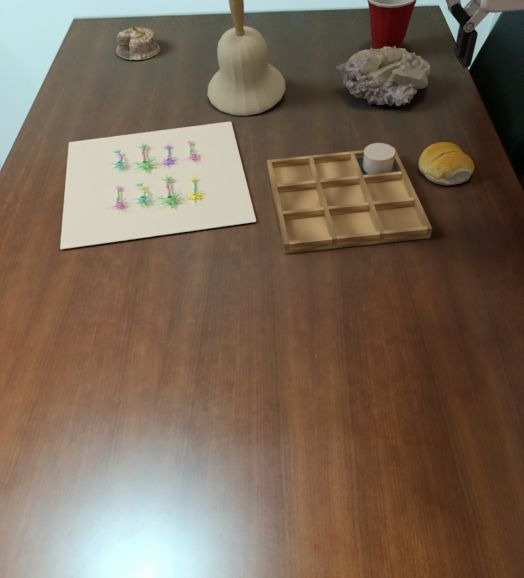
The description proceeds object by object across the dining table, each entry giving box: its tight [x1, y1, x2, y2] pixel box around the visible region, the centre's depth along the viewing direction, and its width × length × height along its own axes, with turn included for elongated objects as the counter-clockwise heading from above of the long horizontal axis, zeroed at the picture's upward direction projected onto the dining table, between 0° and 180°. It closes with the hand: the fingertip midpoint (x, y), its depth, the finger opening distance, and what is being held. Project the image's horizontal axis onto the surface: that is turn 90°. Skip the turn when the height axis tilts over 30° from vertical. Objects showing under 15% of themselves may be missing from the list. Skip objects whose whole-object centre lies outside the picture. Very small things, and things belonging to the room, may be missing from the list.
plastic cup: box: [366, 0, 418, 49], centre depth 119 cm, size 11×11×12 cm
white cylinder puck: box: [362, 142, 395, 174], centre depth 95 cm, size 5×5×3 cm
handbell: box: [207, 0, 286, 117], centre depth 104 cm, size 15×15×25 cm
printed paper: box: [59, 121, 257, 250], centre depth 98 cm, size 30×30×2 cm
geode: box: [335, 46, 432, 107], centre depth 110 cm, size 17×9×15 cm
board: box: [266, 146, 433, 255], centre depth 92 cm, size 22×22×2 cm
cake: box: [115, 26, 161, 61], centre depth 128 cm, size 10×10×5 cm
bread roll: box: [418, 141, 475, 186], centre depth 95 cm, size 8×9×4 cm
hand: (502, 58), depth 69 cm, fingers open, 9 cm apart
